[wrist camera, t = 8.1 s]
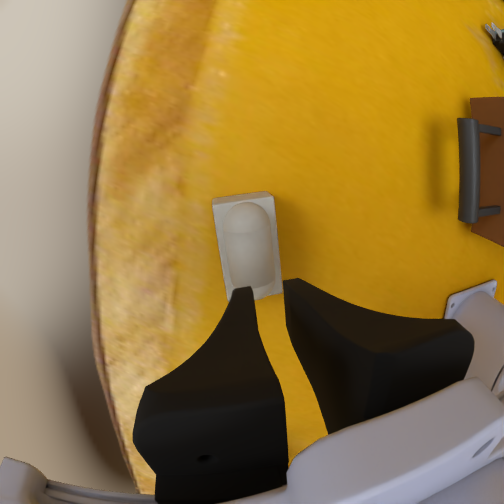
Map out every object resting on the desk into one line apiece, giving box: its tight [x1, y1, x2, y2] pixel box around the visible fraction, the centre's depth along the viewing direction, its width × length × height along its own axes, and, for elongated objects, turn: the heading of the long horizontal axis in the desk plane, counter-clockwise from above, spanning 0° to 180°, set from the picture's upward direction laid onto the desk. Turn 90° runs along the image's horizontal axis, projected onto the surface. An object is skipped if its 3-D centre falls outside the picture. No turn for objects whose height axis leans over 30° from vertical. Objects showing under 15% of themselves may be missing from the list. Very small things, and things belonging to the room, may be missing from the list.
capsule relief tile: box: [212, 191, 283, 302], centre depth 17 cm, size 6×3×4 cm, turn 7°
